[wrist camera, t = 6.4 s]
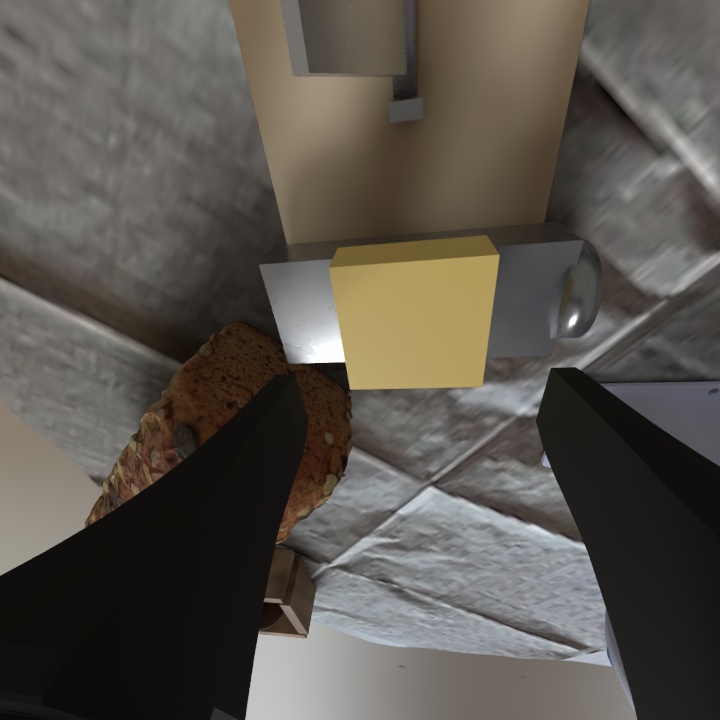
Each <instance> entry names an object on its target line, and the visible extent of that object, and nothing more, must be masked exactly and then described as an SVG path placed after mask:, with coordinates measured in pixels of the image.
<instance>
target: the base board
mask: <svg viewBox="0 0 720 720" xmlns="http://www.w3.org/2000/svg"><path fill="white" fill-rule="evenodd" d="M589 2H590V0H417V75H418V95H417V96H412V97H405V98H398V99H393V83H392V77H297V76H293V73H292V68H291V62H290V56H289V50H288V45H287V39H286V33H285V28H284V22H283V16H282V11H281V5H280V0H229V3H230V7H231V12H232V16H233V20H234V24H235V28H236V32H237V37H238V41H239V45H240V49H241V53H242V58H243V62H244V66H245V70H246V74H247V79H248V83H249V87H250V91H251V95H252V100H253V104H254V108H255V112H256V116H257V121H258V125H259V129H260V133H261V137H262V141H263V146H264V150H265V154H266V158H267V162H268V167H269V171H270V175H271V179H272V183H273V188H274V192H275V196H276V200H277V204H278V209H279V213H280V217H281V221H282V225H283V230H284V234H285V238H286V242H287V244H298V243H309V242H321V241H333V240H345V239H357V238H369V237H381V236H392V235H404V234H416V233H428V232H440V231H452V230H464V229H475V228H487V227H499V226H511V225H523V224H535V223H544V221H545V217H546V212H547V207H548V202H549V197H550V192H551V187H552V183H553V178H554V173H555V168H556V163H557V158H558V153H559V148H560V144H561V139H562V134H563V129H564V124H565V119H566V114H567V109H568V105H569V100H570V95H571V90H572V85H573V80H574V75H575V70H576V66H577V61H578V56H579V51H580V46H581V41H582V36H583V31H584V27H585V22H586V17H587V12H588V7H589ZM417 98H423V119H417V120H409V121H401V122H394V123H390V120H389V102H396V101H403V100H410V99H417Z"/></svg>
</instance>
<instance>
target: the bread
mask: <svg viewBox="0 0 720 720" xmlns="http://www.w3.org/2000/svg"><path fill="white" fill-rule="evenodd" d="M283 374H295V375H296V378H297V382H298V385H299V389H300V392H301V396H302V399H303V402H304V406H305V409H306V413H307V416H308V420H309V424H308V430H307V436H306V442H305V447H304V452H303V455H302V459H301V462H300V465H299V468H298V471H297V475H296V478H295V481H294V484H293V487H292V490H291V494H290V497H289V500H288V503H287V506H286V509H285V512H284V515H283V519H282V522H281V525H280V529H279V533H278V536H277V541H276V544H278V543H281V542H284V541H285V540H286V539H287V538H288V537H289V536H290V531H291V530H292V528H293V527H294V526H295V525H296V524H297V523H298V522H299V521H300V520H303V519H306V518H307V517H308V516H309V515H310V514H311V513H312V512H313V510H314V509H315V508H319V507H320V506H322V505H323V504H324V503H325V502H326V501H327V499H328V498H329V497H330V496H331V494H332V491H333V489H334V488H335V486H336V485H337V484H338V482H339V481H340V479H341V477H344V476H346V475H345V474H344V471H345V468H346V466H347V461H348V456H349V453H350V451H351V449H352V439H353V432H352V429H351V426H350V419H351V418H352V417H353V416H352V413H351V409H352V403H351V401H350V400H351V396H349V395H347V394H345V392H344V391H343V389H342V388H341V387H340V386H339V385H338V384H337V383H336V382H334V381H333V380H332V379H331V378H330V377H328V376H327V375H326V374H324V373H322V372H320V371H319V370H317V369H316V368H315V367H314V366H312V365H311V364H310V363H297V364H288V361H287V357H286V354H285V351H284V347H283V345H281V344H279V343H277V342H276V341H274V340H273V339H272V338H270V337H269V336H267V335H266V334H265V333H263V332H261V331H260V330H258V329H256V328H254V327H252V326H249V325H246V324H243V323H233V324H229V325H228V326H224V328H223V329H222V331H221V332H220V333H219V334H216V333H214V334H213V335H212V336H211V337H210V339H209V342H208V343H206V344H204V345H202V346H201V348H200V349H199V350H198V352H197V353H196V354H195V355H194V356H193V357H192V358H190V359H189V360H188V361H187V362H185V363H184V364H183V365H182V366H181V368H180V369H179V370H178V371H177V372H176V373H175V375H174V376H173V378H172V379H171V381H170V384H169V386H168V388H167V389H165V390H164V391H162V392H161V399H160V400H159V401H157V402H154V403H153V404H152V405H151V406H150V407H148V408H147V409H146V411H145V413H144V415H143V417H142V419H141V426H140V429H139V431H138V432H137V433H135V434H134V435H132V436H131V438H130V442H129V444H128V445H127V446H126V448H125V449H124V450H123V452H122V453H121V455H120V457H119V459H118V460H117V462H116V464H114V467H113V470H112V472H111V473H110V475H109V476H108V478H107V479H106V480H105V481H104V484H103V493H102V496H100V497H99V499H98V500H97V502H96V503H95V505H94V507H93V509H92V511H91V513H90V516H89V517H88V518H87V520H86V522H85V528H86V527H88V526H89V525H91V524H92V523H94V522H96V521H97V520H99V519H101V518H102V517H104V516H105V515H107V514H108V513H110V512H112V511H113V510H115V509H116V508H118V507H119V506H121V505H122V504H123V503H125V502H126V501H128V500H129V499H131V498H132V497H134V496H135V495H137V494H138V493H140V492H141V491H142V490H144V489H145V488H147V487H148V486H150V485H151V484H153V483H154V482H155V481H157V480H158V479H160V478H161V477H162V476H164V475H165V474H166V473H168V472H169V471H170V470H171V469H173V468H174V467H175V466H177V465H178V464H179V463H181V462H182V461H183V460H184V459H186V458H187V457H188V456H189V455H191V454H192V453H193V452H194V451H195V450H197V449H198V448H199V447H200V446H201V445H202V444H203V443H204V442H206V441H207V440H208V439H209V438H210V437H211V436H212V435H213V434H215V433H216V432H217V431H218V430H219V429H220V428H221V427H222V426H224V425H225V424H226V423H227V422H228V421H229V420H230V419H231V418H232V417H233V416H234V415H235V414H236V413H237V412H238V411H239V410H240V409H241V408H242V407H244V406H245V405H246V404H247V403H248V402H249V401H250V400H251V399H252V398H253V397H254V396H255V395H256V394H257V393H258V392H259V391H260V390H261V389H262V388H263V387H264V386H265V385H266V384H267V383H268V382H269V381H270V380H271V379H272V378H273V377H274V376H275V375H283Z"/></svg>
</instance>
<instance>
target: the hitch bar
mask: <svg viewBox="0 0 720 720" xmlns="http://www.w3.org/2000/svg"><path fill="white" fill-rule="evenodd" d="M417 119H423V98H417V99H410V100H403V101H396V102H389V120H390V123H394V122H401V121H409V120H417ZM483 235H487V237H488V238H489V240H490V241H491V243H492V244H493V245H494V247H495V248H496V250H497V251H498V253H499V254H500V257H499V264H498V272H497V279H496V287H495V294H494V302H493V309H492V316H491V324H490V331H489V339H488V346H487V354H486V358H495V357H528V356H552V352H553V348H554V345H555V341H556V338H578V337H581V336H583V335H584V334H585V333H586V332H587V331H588V330H589V329H590V328H591V326H592V325H593V323H594V321H595V319H596V316H597V314H598V310H599V307H600V303H601V297H602V288H603V275H602V267H601V262H600V258H599V255H598V253H597V251H596V249H595V247H594V246H593V245H592V244H591V243H590V242H589V241H587V240H584V239H582V238H580V237H579V236H578V235H576V234H575V233H573V232H572V231H571V230H569V229H568V228H567V227H565V226H564V225H562V224H561V223H560V222H546V223H535V224H523V225H511V226H499V227H487V228H475V229H464V230H452V231H440V232H428V233H416V234H404V235H392V236H381V237H369V238H357V239H345V240H333V241H321V242H309V243H298V244H286V245H276V246H275V248H274V249H273V250H272V251H271V252H270V253H269V254H268V255H267V256H266V257H265V259H264V260H263V261H262V262H261V263H260V264H259V267H260V270H261V274H262V277H263V280H264V284H265V287H266V290H267V294H268V297H269V300H270V304H271V307H272V310H273V314H274V317H275V320H276V324H277V327H278V330H279V334H280V337H281V341H282V344H283V347H284V351H285V354H286V357H287V361H288V364H297V363H330V362H345V357H344V352H343V346H342V340H341V334H340V329H339V323H338V317H337V312H336V306H335V300H334V295H333V289H332V283H331V278H330V272H329V266H330V264H331V262H332V259H333V257H334V255H335V253H336V251H337V248H341V247H352V246H364V245H376V244H388V243H400V242H412V241H423V240H435V239H447V238H459V237H471V236H483Z"/></svg>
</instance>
